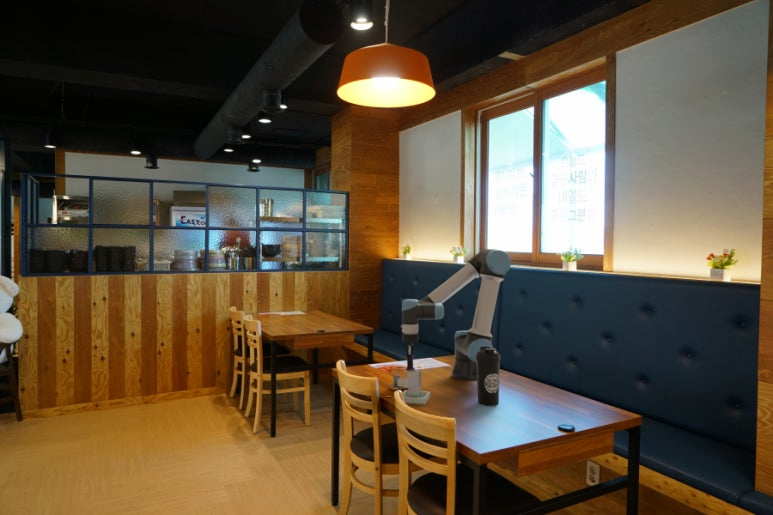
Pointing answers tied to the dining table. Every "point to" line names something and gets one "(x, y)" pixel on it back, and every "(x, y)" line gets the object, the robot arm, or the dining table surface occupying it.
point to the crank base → (395, 386)
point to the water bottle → (488, 376)
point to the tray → (418, 401)
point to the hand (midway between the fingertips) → (410, 383)
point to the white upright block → (414, 383)
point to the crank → (400, 381)
